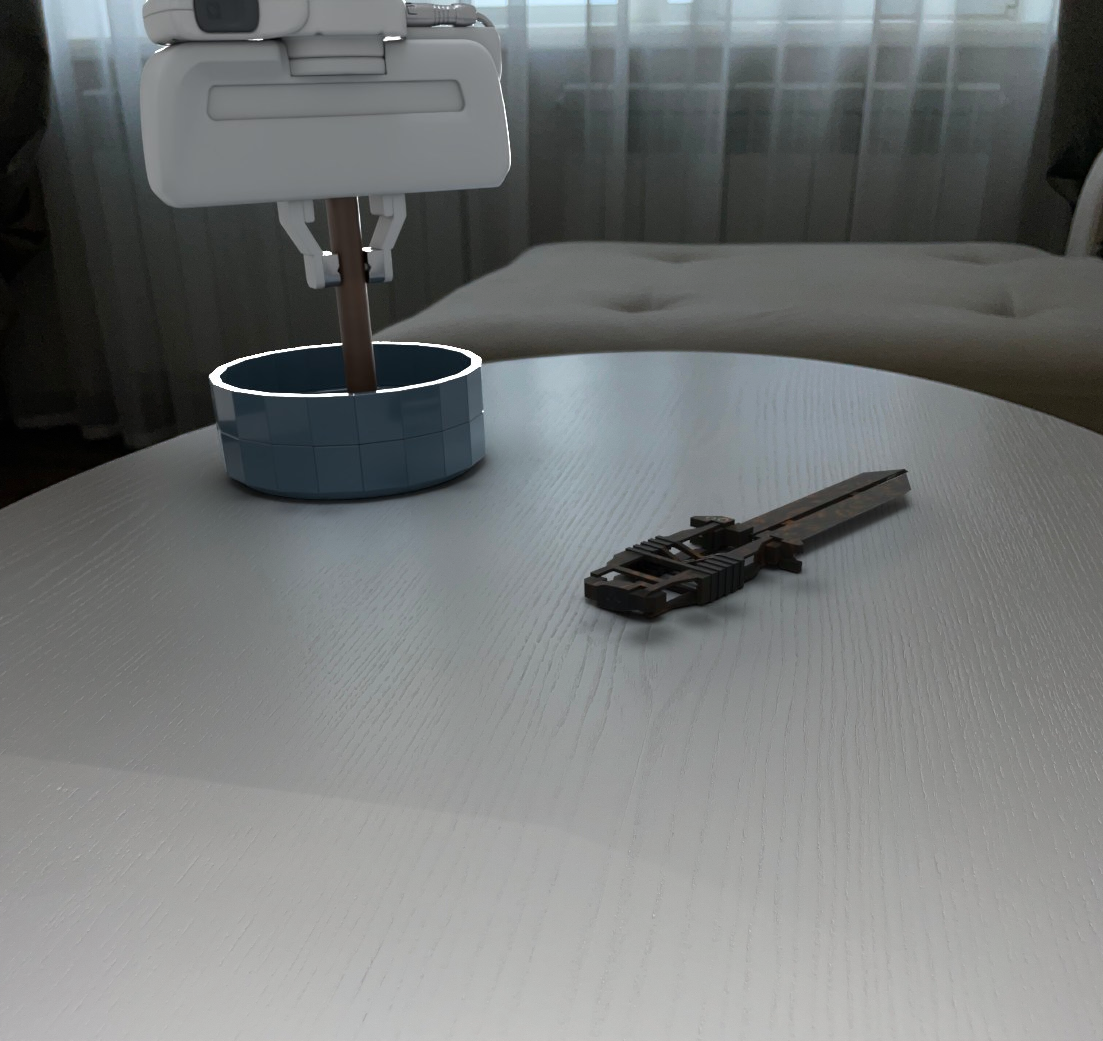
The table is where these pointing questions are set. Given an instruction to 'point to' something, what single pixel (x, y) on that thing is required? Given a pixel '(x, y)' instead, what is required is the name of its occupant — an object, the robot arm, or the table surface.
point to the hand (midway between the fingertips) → (350, 284)
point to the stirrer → (352, 294)
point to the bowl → (349, 420)
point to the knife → (722, 532)
